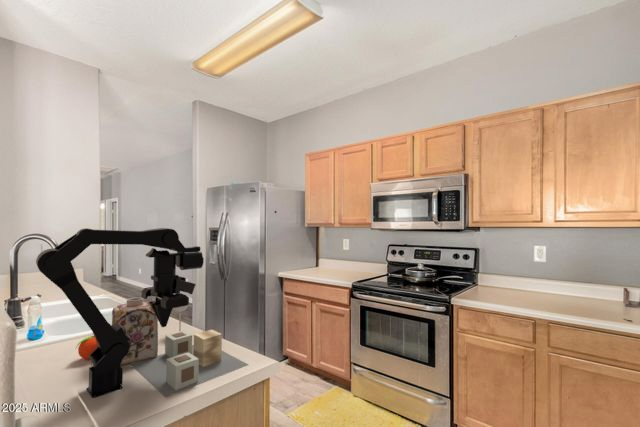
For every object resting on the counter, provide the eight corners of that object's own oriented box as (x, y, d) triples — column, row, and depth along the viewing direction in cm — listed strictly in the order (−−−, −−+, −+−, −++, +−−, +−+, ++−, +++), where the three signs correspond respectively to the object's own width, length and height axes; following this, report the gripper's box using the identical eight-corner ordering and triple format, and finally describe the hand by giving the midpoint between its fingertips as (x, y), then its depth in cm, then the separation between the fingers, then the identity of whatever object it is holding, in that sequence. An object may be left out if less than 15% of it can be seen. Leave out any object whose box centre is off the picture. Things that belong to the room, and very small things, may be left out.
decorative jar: (152, 346, 110) (152, 293, 110) (158, 356, 100) (158, 298, 101) (110, 355, 103) (111, 298, 103) (113, 367, 93) (114, 304, 94)
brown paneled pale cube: (173, 360, 98) (173, 339, 98) (165, 354, 103) (165, 334, 103) (192, 354, 103) (192, 334, 103) (183, 348, 107) (183, 330, 107)
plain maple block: (203, 366, 94) (203, 339, 94) (193, 360, 98) (193, 334, 98) (221, 360, 98) (221, 334, 99) (211, 354, 103) (211, 329, 103)
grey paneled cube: (176, 390, 81) (176, 365, 81) (165, 381, 85) (166, 358, 85) (198, 381, 86) (199, 358, 86) (187, 373, 90) (188, 351, 90)
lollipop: (167, 336, 119) (168, 296, 119) (180, 331, 124) (181, 292, 124) (178, 339, 116) (179, 298, 116) (191, 334, 121) (192, 294, 122)
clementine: (80, 367, 94) (81, 342, 94) (69, 361, 98) (69, 338, 98) (109, 357, 101) (110, 334, 101) (97, 352, 105) (98, 330, 105)
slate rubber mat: (166, 399, 78) (166, 397, 78) (129, 365, 95) (129, 363, 95) (248, 366, 96) (248, 364, 96) (205, 343, 113) (205, 341, 113)
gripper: (207, 272, 92) (206, 327, 91) (178, 265, 104) (177, 313, 104) (167, 277, 83) (166, 337, 83) (141, 269, 96) (140, 321, 96)
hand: (163, 326), depth 92 cm, fingers closed
